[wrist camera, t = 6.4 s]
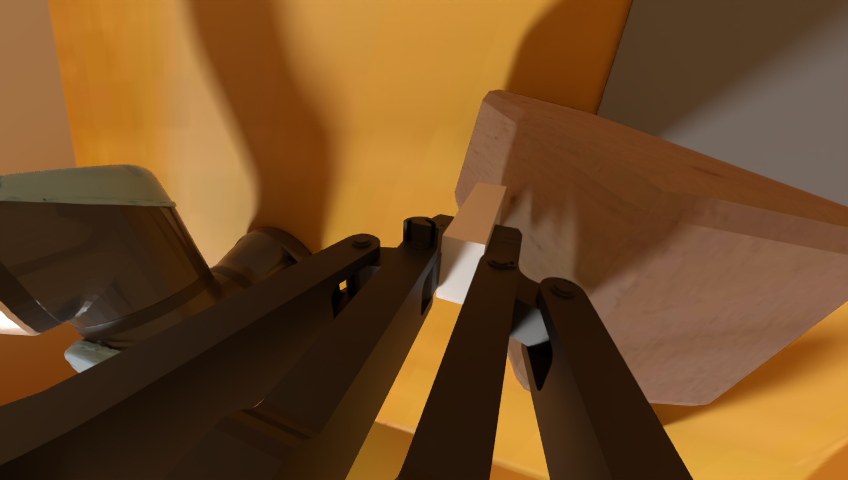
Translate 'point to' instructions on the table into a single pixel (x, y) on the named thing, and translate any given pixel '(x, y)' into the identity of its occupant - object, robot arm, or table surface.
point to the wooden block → (660, 243)
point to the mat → (740, 85)
